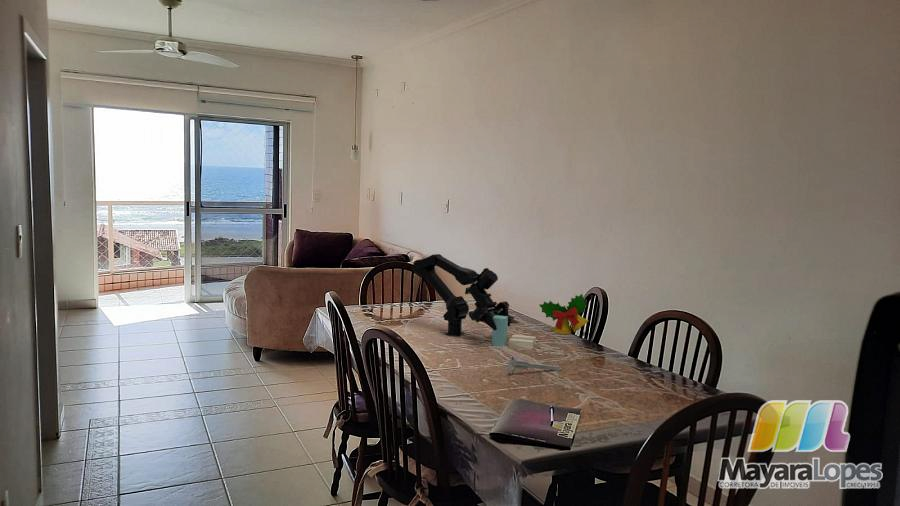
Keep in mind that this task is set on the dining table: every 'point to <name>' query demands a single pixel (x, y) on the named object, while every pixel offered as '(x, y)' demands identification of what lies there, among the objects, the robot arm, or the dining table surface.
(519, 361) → the caliper
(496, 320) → the teal block
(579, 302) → the ornament
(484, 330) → the dining table surface
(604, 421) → the dining table surface
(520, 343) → the birch block
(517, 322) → the circuit board
